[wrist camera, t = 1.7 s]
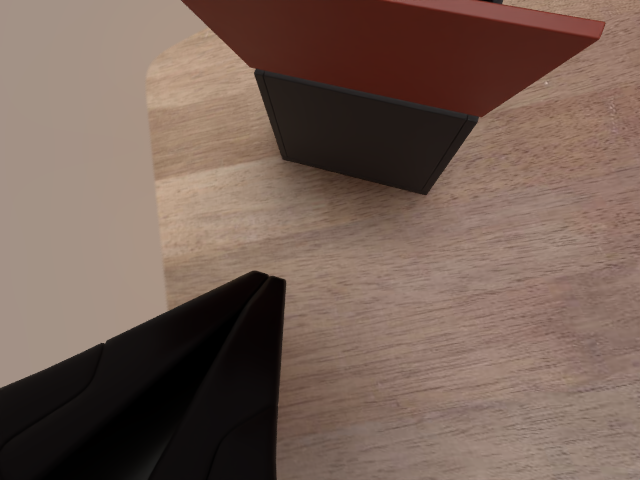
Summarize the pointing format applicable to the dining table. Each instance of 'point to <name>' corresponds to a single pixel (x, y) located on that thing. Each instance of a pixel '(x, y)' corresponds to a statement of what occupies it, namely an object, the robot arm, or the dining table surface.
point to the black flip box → (362, 131)
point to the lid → (403, 45)
